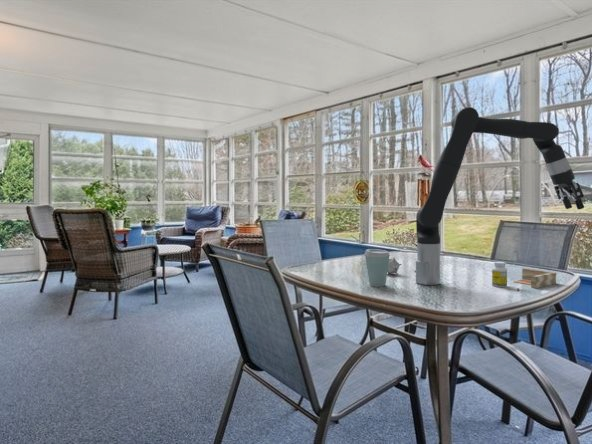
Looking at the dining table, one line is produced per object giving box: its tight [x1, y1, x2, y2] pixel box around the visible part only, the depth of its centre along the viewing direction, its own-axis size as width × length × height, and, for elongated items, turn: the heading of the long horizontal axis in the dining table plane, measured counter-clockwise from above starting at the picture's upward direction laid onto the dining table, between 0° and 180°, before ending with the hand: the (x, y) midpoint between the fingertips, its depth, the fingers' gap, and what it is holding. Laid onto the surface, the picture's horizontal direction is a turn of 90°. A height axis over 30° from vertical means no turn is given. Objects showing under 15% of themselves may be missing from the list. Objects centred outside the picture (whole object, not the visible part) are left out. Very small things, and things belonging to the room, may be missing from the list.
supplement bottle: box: [491, 261, 508, 288], centre depth 158 cm, size 5×5×10 cm
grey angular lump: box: [387, 257, 402, 276], centre depth 187 cm, size 9×8×10 cm
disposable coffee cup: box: [364, 248, 391, 288], centre depth 162 cm, size 11×11×15 cm
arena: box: [513, 267, 557, 289], centre depth 163 cm, size 16×13×4 cm
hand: (575, 208), depth 155 cm, fingers open, 8 cm apart
